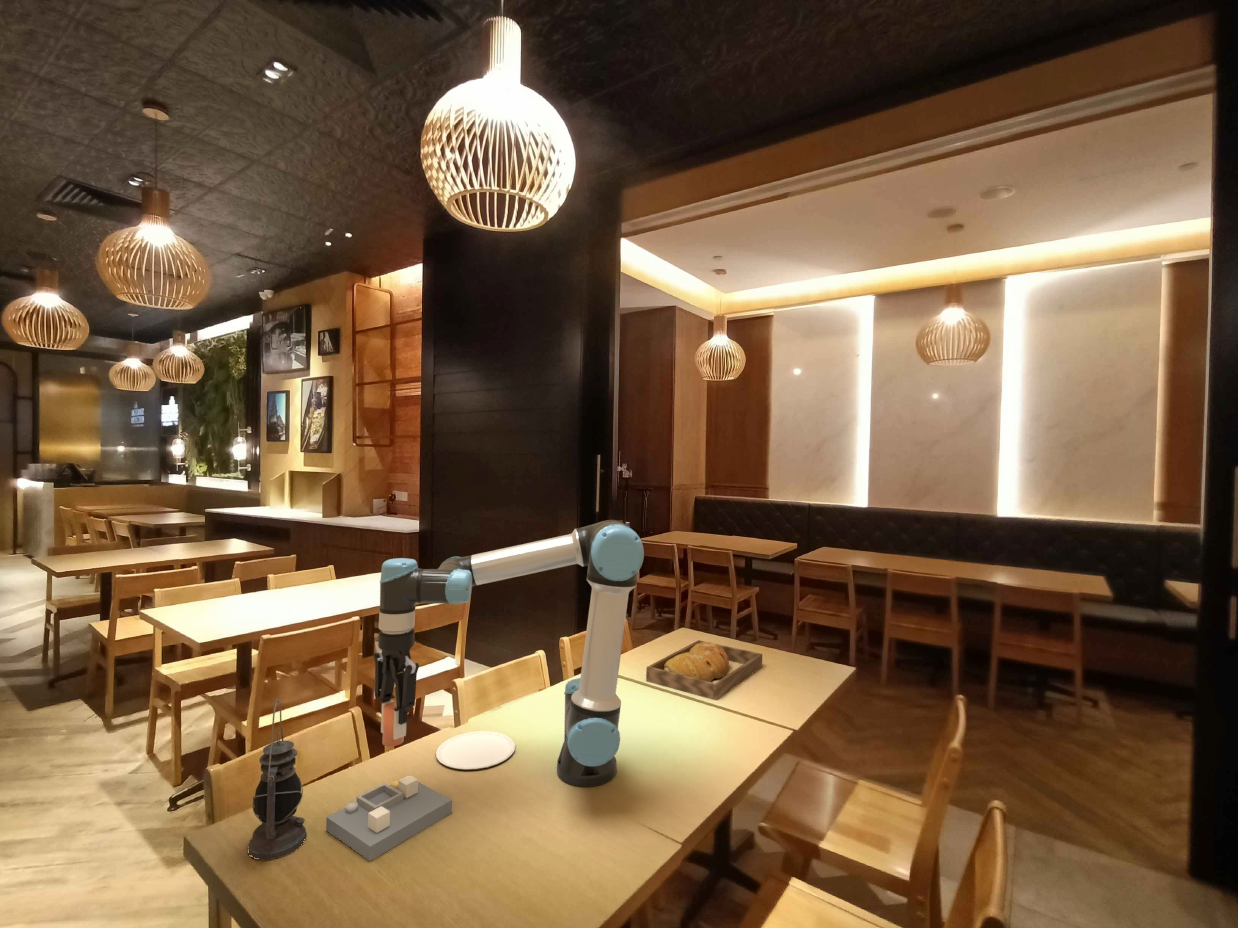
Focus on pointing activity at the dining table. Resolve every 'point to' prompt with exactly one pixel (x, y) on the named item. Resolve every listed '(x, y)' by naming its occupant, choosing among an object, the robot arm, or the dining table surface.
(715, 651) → the bread
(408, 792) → the toggle
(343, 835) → the grey flat block
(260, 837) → the lantern
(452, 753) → the plate
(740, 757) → the dining table surface
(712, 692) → the bread tray
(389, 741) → the cap
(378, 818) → the toggle
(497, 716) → the dining table surface
